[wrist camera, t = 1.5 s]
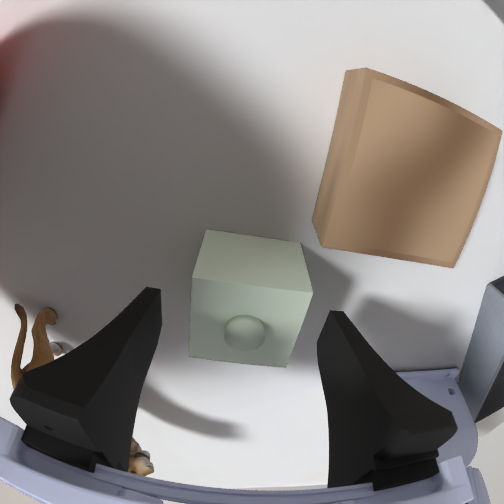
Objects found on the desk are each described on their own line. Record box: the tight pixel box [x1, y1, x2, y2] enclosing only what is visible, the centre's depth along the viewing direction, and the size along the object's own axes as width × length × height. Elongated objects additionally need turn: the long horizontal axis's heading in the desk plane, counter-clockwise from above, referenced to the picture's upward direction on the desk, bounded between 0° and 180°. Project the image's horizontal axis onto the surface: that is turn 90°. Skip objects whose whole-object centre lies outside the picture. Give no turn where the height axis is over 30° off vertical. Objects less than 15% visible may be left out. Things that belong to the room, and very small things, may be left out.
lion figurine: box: [11, 303, 154, 476], centre depth 16 cm, size 15×5×9 cm, turn 36°
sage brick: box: [189, 229, 313, 367], centre depth 14 cm, size 4×4×4 cm
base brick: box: [312, 68, 502, 268], centre depth 11 cm, size 7×7×2 cm
